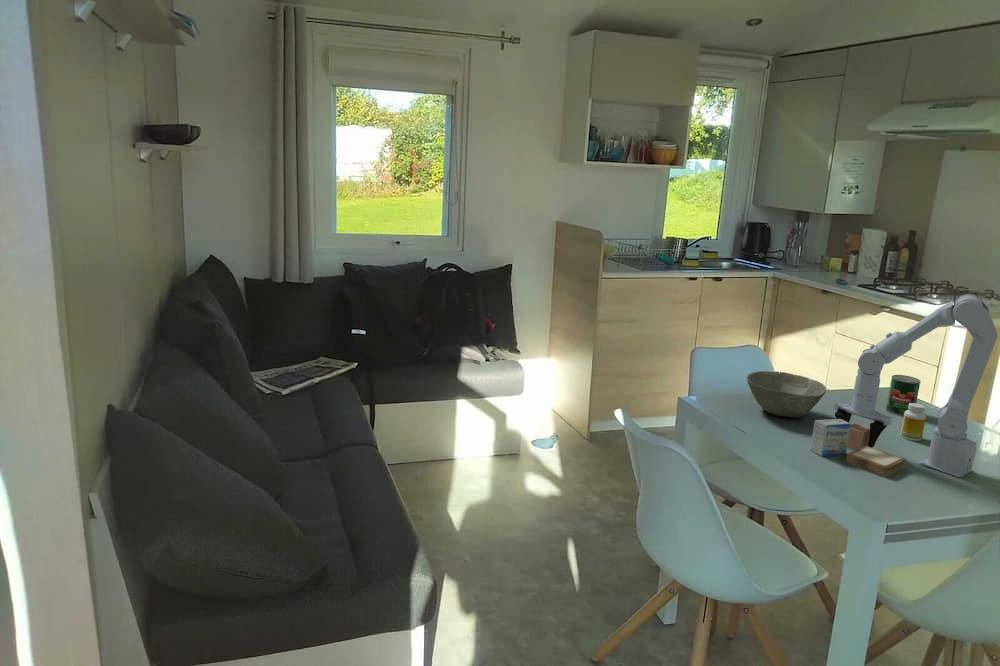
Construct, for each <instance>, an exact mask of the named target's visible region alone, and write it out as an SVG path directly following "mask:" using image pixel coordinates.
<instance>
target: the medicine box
mask: <svg viewBox="0 0 1000 666" xmlns="http://www.w3.org/2000/svg"><path fill="white" fill-rule="evenodd" d="M851 425H852V424H851V423H850V422H849V423H848V422H846V421H844V420H842V419H836V418H830V419H829V418H827V419H815V420H814V422H813V429H812V436H811V443H810V447H809V448H810V451H811V452H813V453H815V454H817V455H818V456H821V457H829V456H839V455H841V456H842V455H846V453H847V449H848V448H847V444H848V438H849V432H850V427H851Z"/></svg>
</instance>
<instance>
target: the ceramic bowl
mask: <svg viewBox="0 0 1000 666" xmlns="http://www.w3.org/2000/svg"><path fill="white" fill-rule="evenodd" d="M745 378H746V381H747V384H748V387H749V389H750V392H751V394H752V396H753V397H754V400H755V401H756V402H757V404H758V405H759V406H760V407H761V409H763V410H764V411H765V412H768V413H769V414H771V415H774V416H778V417H783V418H790V419H791V418H792V419H797V418H801V417H803V416H805V415H806V414H808V413H809V412H810V411H811V410H812V409H813V408H814V407H815V406H816V405H817V404H818V403H819V402H820V401H821V399H822V398H823V396H824V395H825V394H826V392H827V387H826V385H825V384H823V383H822V382H819V381H818V380H815V379H812V378H809V377H806V376H802V375H798V374H793V373H789V372H784V371H772V370H771V371H767V370H762V371H761V370H759V371H754V372H750V373H749V374H748V375H747V376H746V377H745Z"/></svg>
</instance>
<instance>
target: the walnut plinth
mask: <svg viewBox="0 0 1000 666" xmlns="http://www.w3.org/2000/svg"><path fill="white" fill-rule="evenodd" d="M845 460H846V461H845V463H846V464H847V465H848V464H849V465H851V466H854V467H857V468H859V469H862V470H865V471H868V472H870V473H871V474H876V475H878V476H881V477H883V478H887V477H889V476H892V475H894V474H895V473H897V472H900V471H902V470H904V469H905V467H906V462H907V459H906V458H904V457H900V456H898V455H894V454H891V453H890V452H889V453H888V452H886V451H882V450H880V449H877V448H874V447H869V446H865V447H863V448H860V449H858V450H853V451H851V452H848V453H847V455H846V458H845Z"/></svg>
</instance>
